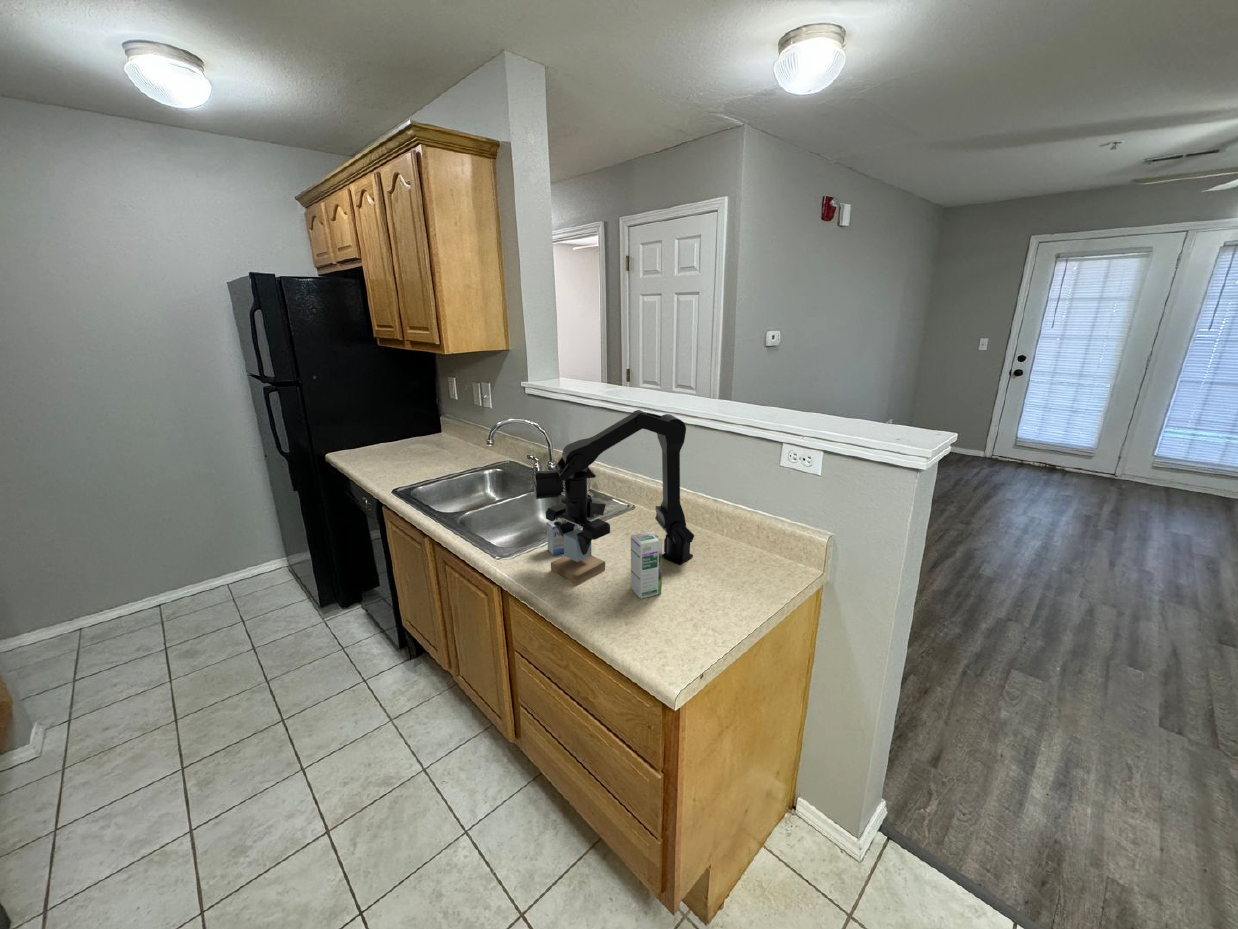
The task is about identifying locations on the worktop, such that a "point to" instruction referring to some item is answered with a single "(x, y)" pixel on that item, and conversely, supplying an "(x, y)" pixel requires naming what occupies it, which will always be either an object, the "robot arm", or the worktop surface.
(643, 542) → the syrup box
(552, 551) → the medicine box
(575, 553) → the slate block
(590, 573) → the walnut block
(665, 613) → the worktop surface
